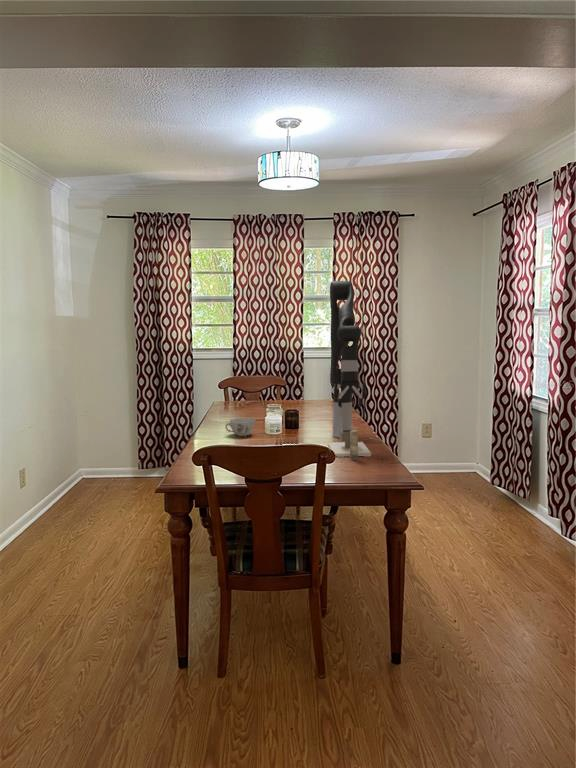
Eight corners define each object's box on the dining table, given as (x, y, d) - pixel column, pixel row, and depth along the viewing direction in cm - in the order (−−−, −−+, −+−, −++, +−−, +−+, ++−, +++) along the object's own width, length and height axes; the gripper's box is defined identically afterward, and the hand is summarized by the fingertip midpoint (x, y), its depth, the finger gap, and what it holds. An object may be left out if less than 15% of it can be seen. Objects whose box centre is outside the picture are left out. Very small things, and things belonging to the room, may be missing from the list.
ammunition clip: (275, 469, 230) (275, 439, 228) (273, 467, 232) (273, 438, 230) (299, 465, 235) (299, 436, 233) (297, 464, 236) (297, 435, 235)
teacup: (251, 431, 297) (251, 416, 296) (258, 437, 285) (258, 420, 284) (222, 434, 292) (222, 418, 291) (228, 439, 280) (228, 423, 279)
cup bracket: (327, 445, 267) (327, 426, 266) (362, 445, 268) (362, 425, 267) (333, 457, 247) (333, 436, 246) (371, 456, 248) (371, 435, 247)
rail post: (349, 458, 245) (349, 430, 243) (357, 458, 245) (357, 430, 244) (350, 460, 242) (351, 431, 240) (358, 460, 242) (358, 431, 240)
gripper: (363, 370, 263) (364, 406, 263) (332, 371, 262) (332, 407, 262) (367, 370, 255) (367, 407, 255) (334, 370, 254) (335, 407, 254)
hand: (350, 407), depth 258 cm, fingers open, 8 cm apart
